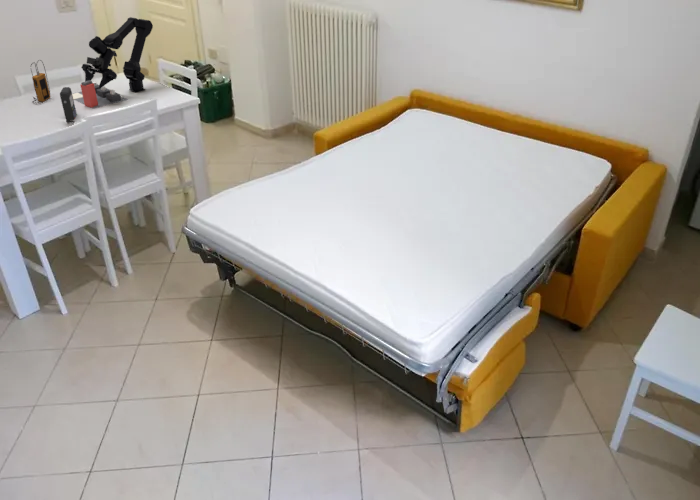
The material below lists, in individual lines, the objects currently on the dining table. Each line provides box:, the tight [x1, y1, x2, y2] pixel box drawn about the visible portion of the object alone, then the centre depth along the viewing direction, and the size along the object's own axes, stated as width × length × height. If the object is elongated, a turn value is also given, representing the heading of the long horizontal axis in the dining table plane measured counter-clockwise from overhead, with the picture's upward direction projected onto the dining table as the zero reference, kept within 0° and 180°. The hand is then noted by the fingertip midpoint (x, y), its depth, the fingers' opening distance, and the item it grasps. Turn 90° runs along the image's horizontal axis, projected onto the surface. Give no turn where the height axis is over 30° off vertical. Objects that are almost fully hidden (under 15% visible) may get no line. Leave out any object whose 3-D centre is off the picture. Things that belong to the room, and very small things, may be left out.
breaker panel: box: [72, 81, 129, 110], centre depth 308 cm, size 22×28×6 cm
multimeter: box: [30, 59, 51, 105], centre depth 303 cm, size 15×10×20 cm
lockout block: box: [80, 80, 98, 109], centre depth 296 cm, size 5×4×12 cm
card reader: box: [59, 86, 78, 124], centre depth 282 cm, size 9×4×15 cm, turn 12°
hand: (92, 86), depth 297 cm, fingers open, 9 cm apart
